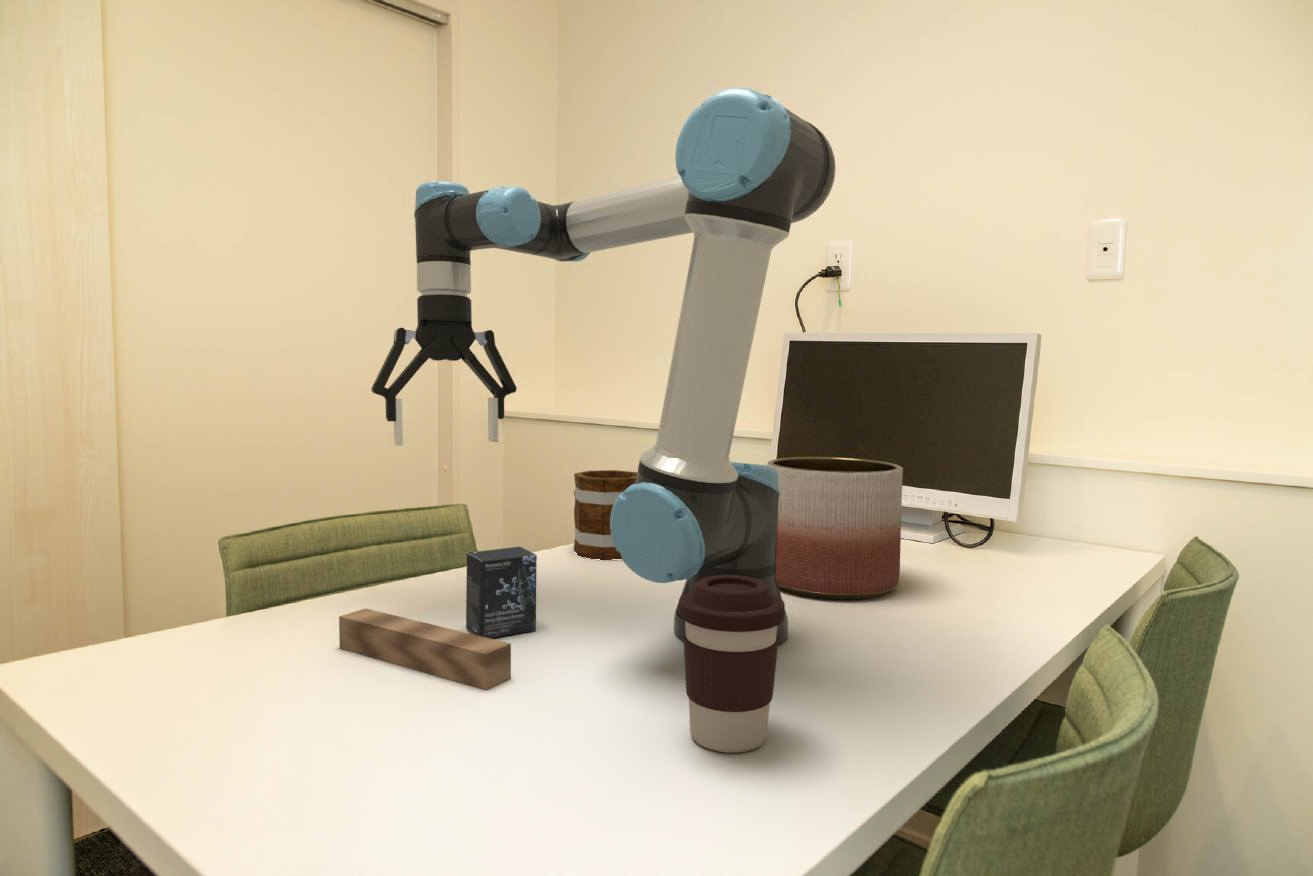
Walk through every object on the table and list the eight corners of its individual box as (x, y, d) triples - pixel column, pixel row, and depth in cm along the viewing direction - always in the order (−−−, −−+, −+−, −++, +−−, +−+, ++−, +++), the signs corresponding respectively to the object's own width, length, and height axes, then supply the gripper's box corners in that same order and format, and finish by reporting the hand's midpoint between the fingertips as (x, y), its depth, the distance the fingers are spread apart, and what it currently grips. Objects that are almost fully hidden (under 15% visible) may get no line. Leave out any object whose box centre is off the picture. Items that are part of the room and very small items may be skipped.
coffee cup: (671, 716, 81) (674, 570, 80) (767, 714, 82) (771, 569, 81) (682, 763, 72) (686, 598, 70) (792, 761, 72) (797, 597, 71)
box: (481, 642, 102) (480, 560, 102) (465, 629, 107) (465, 551, 106) (537, 631, 107) (537, 553, 106) (520, 620, 111) (520, 545, 111)
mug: (558, 550, 154) (559, 473, 153) (615, 542, 163) (616, 468, 162) (620, 571, 139) (621, 485, 138) (679, 560, 148) (681, 479, 147)
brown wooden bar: (510, 678, 91) (510, 643, 90) (486, 690, 87) (486, 654, 87) (366, 639, 103) (365, 608, 102) (339, 648, 99) (339, 616, 99)
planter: (747, 592, 127) (750, 466, 126) (779, 562, 148) (782, 454, 146) (891, 610, 119) (897, 476, 117) (904, 576, 140) (909, 461, 138)
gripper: (521, 301, 124) (522, 438, 126) (348, 293, 113) (353, 444, 115) (536, 296, 117) (537, 441, 119) (354, 288, 106) (359, 448, 108)
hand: (447, 443), depth 117 cm, fingers open, 13 cm apart
